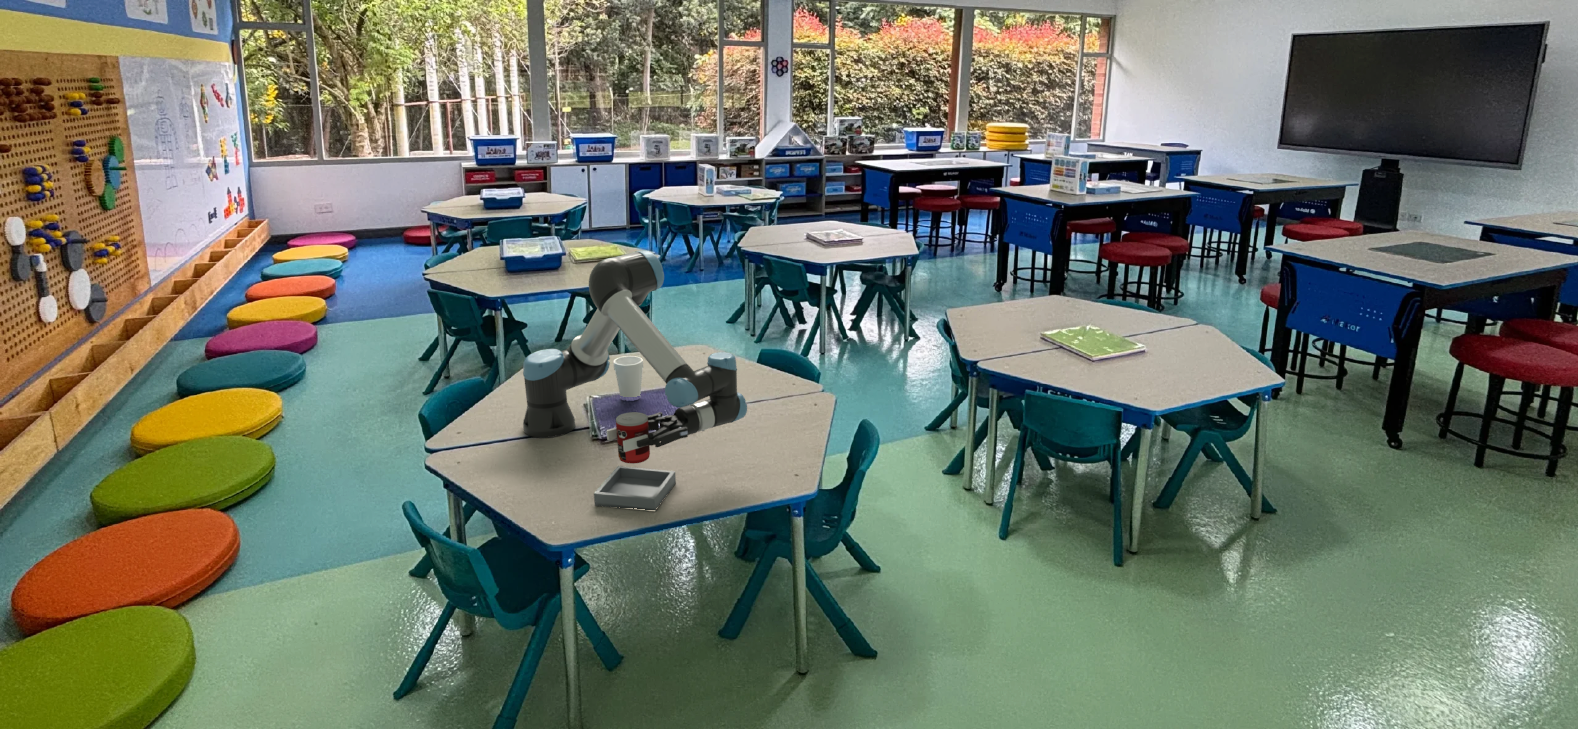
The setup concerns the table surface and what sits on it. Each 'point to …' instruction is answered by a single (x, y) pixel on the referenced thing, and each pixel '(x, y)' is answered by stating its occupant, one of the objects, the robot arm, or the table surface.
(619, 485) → the tray
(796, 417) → the table surface
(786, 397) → the table surface
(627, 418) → the canned food
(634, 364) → the foam cup
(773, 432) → the table surface
